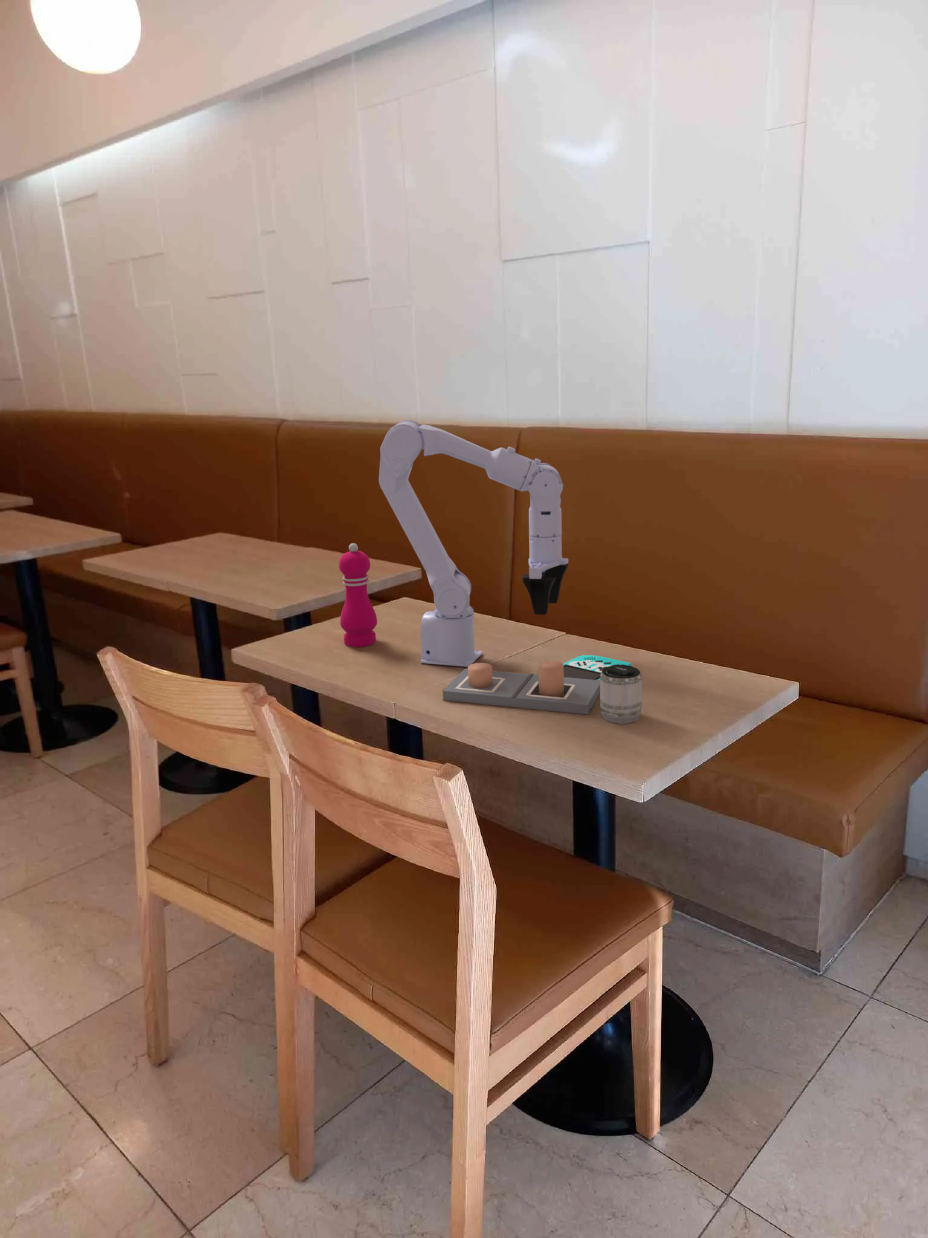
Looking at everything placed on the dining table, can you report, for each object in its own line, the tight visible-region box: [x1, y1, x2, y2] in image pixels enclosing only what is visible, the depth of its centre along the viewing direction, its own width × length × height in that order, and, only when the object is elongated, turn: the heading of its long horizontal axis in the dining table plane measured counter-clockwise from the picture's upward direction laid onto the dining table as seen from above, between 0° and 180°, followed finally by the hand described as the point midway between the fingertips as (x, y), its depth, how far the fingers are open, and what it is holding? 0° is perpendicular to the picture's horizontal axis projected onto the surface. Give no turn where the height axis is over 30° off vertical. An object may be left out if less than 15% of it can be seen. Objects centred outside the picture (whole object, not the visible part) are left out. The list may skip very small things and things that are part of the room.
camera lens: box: [599, 664, 643, 725], centre depth 138 cm, size 6×6×8 cm
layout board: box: [442, 662, 600, 715], centre depth 148 cm, size 24×11×5 cm, turn 70°
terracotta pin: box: [538, 660, 565, 698], centre depth 145 cm, size 4×4×6 cm
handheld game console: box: [563, 654, 632, 680], centre depth 157 cm, size 10×16×1 cm, turn 139°
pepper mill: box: [338, 542, 378, 648], centre depth 176 cm, size 7×7×20 cm
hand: (546, 608), depth 164 cm, fingers open, 7 cm apart
